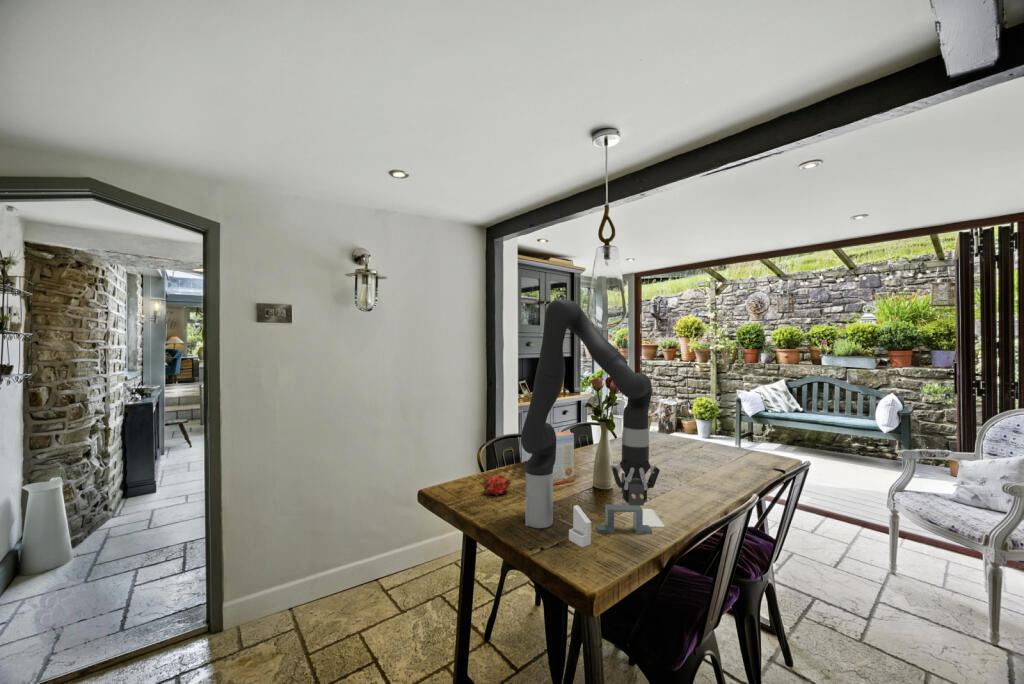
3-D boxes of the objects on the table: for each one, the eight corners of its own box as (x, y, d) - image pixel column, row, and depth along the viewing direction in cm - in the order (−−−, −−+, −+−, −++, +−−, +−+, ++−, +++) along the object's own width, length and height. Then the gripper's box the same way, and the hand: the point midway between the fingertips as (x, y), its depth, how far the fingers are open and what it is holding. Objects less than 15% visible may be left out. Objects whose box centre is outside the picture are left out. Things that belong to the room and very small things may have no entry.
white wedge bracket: (568, 523, 136) (577, 504, 133) (587, 550, 129) (598, 531, 126) (559, 526, 134) (569, 507, 130) (578, 553, 127) (589, 534, 123)
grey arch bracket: (598, 533, 135) (598, 509, 135) (596, 527, 139) (596, 504, 139) (652, 533, 134) (652, 510, 134) (648, 528, 138) (648, 505, 138)
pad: (640, 527, 139) (640, 526, 139) (629, 509, 153) (629, 508, 153) (665, 527, 139) (665, 526, 139) (652, 510, 153) (652, 509, 153)
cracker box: (567, 477, 188) (567, 430, 188) (574, 481, 182) (574, 433, 182) (539, 482, 182) (539, 433, 182) (546, 486, 177) (546, 436, 176)
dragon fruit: (479, 499, 167) (507, 499, 172) (487, 492, 161) (516, 492, 166) (478, 477, 172) (505, 478, 177) (485, 470, 166) (513, 471, 170)
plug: (630, 507, 119) (631, 486, 119) (620, 490, 132) (620, 471, 132) (645, 507, 119) (645, 486, 119) (633, 490, 132) (633, 471, 132)
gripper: (656, 439, 126) (655, 497, 126) (608, 439, 126) (607, 496, 127) (664, 446, 119) (663, 507, 119) (613, 445, 119) (612, 506, 119)
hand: (634, 501), depth 123 cm, fingers closed on plug, 4 cm apart
